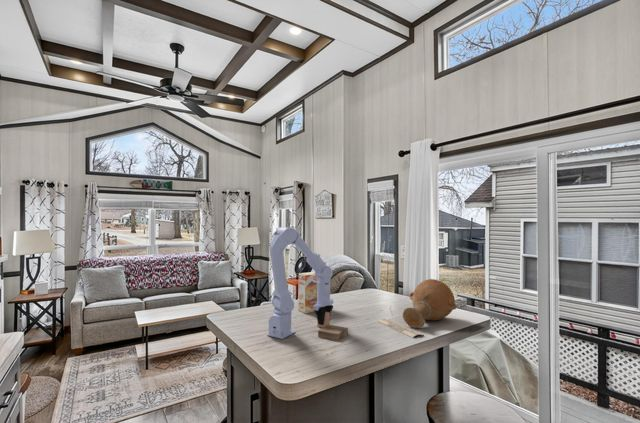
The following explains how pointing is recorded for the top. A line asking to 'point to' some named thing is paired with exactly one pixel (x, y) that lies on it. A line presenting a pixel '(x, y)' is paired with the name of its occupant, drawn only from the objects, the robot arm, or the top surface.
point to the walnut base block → (333, 332)
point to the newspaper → (399, 328)
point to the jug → (429, 303)
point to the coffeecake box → (307, 292)
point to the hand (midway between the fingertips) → (323, 323)
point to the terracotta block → (325, 320)
